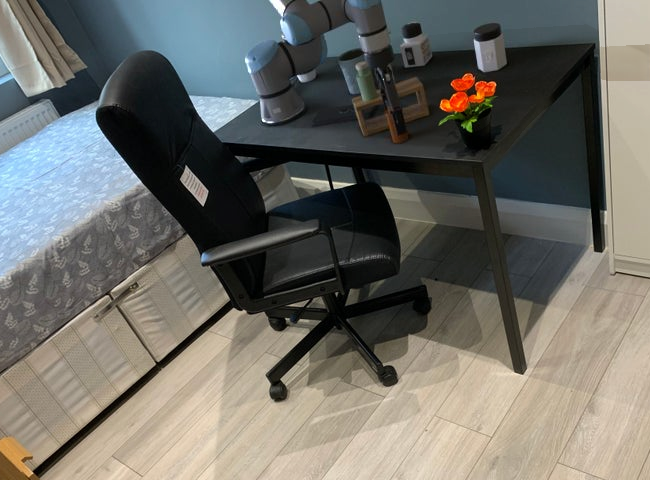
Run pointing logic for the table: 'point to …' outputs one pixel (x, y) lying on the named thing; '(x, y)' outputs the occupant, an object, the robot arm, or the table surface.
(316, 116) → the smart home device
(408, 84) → the wooden frame
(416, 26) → the container
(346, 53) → the blue-grey plant pot
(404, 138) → the amber bottle
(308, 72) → the coffee cup
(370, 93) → the sage bottle
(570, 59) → the table surface
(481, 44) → the jar
